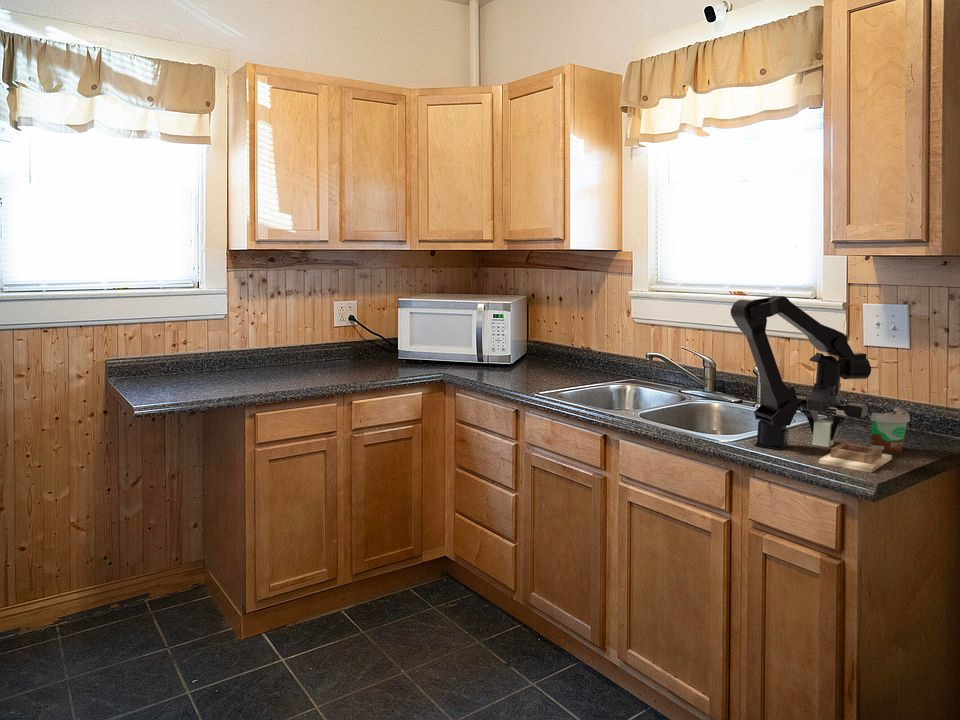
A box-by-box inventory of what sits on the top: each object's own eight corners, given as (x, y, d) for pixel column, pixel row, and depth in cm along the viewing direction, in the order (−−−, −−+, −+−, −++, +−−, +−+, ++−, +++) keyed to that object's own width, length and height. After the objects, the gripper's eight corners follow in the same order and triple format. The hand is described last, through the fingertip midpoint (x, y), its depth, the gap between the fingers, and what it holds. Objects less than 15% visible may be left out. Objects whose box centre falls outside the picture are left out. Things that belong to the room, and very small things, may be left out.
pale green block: (812, 444, 203) (814, 421, 202) (817, 441, 206) (819, 419, 205) (828, 447, 201) (830, 424, 200) (833, 444, 204) (835, 422, 203)
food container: (892, 456, 192) (895, 416, 191) (867, 451, 197) (870, 412, 196) (916, 450, 199) (920, 411, 198) (891, 445, 204) (895, 407, 203)
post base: (818, 463, 184) (819, 450, 184) (841, 450, 197) (842, 439, 197) (871, 472, 177) (872, 459, 176) (891, 459, 189) (892, 447, 189)
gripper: (780, 378, 201) (775, 437, 203) (857, 387, 189) (851, 450, 191) (795, 374, 210) (791, 431, 212) (870, 382, 197) (865, 443, 199)
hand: (823, 438), depth 203 cm, fingers closed on pale green block, 4 cm apart
